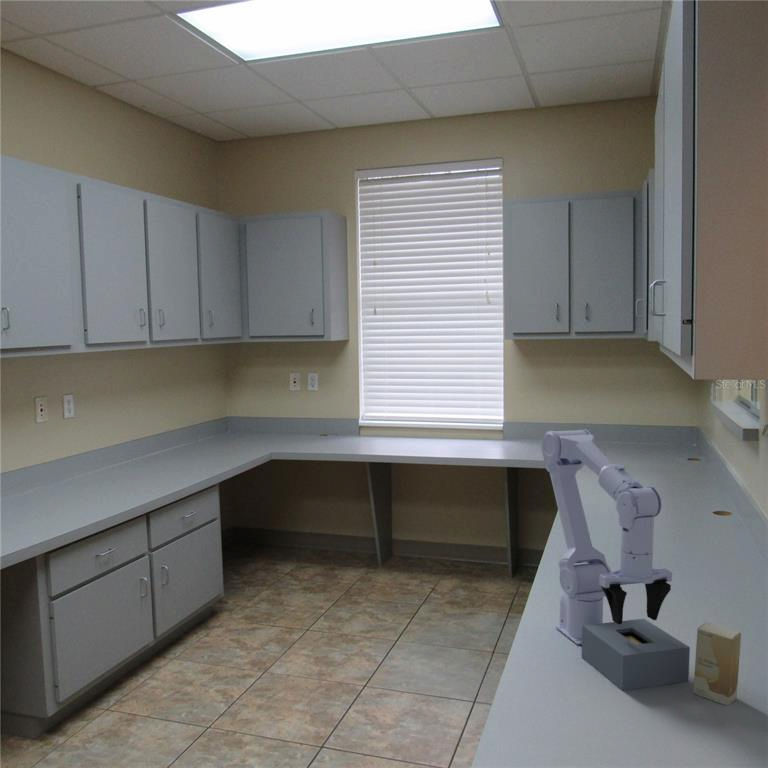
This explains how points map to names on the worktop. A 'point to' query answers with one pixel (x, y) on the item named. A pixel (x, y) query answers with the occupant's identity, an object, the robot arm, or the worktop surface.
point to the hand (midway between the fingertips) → (634, 620)
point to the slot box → (635, 654)
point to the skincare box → (717, 663)
